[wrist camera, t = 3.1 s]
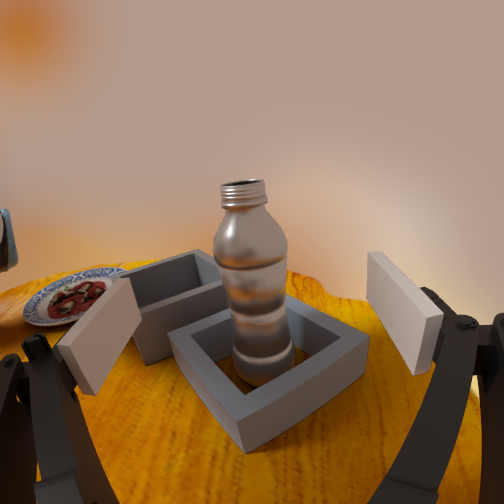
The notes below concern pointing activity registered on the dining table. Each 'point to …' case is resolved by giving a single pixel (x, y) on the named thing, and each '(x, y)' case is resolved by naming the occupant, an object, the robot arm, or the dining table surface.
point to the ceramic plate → (69, 297)
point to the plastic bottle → (254, 282)
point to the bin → (173, 299)
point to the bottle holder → (279, 389)
